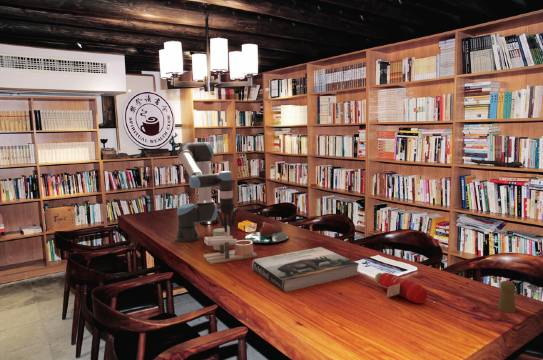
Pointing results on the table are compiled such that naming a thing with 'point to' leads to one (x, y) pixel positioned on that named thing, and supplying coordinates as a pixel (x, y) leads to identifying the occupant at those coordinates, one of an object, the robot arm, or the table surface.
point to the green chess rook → (507, 297)
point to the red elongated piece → (401, 287)
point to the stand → (225, 255)
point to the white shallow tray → (219, 240)
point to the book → (304, 268)
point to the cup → (243, 247)
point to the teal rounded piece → (267, 234)
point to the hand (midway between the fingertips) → (228, 237)
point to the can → (218, 233)
